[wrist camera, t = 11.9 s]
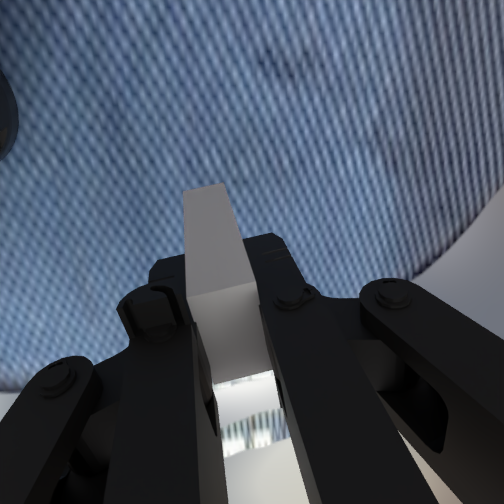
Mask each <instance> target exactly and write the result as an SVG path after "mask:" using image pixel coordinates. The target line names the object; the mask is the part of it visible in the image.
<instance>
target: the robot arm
mask: <svg viewBox="0 0 504 504" xmlns="http://www.w3.org/2000/svg"><path fill="white" fill-rule="evenodd" d="M17 131H18V110H17V105H16V101H15V98H14V95H13V92H12V90H11V87H10V85H9V83H8V81H7V79H6V78H5V76H4V74H3V73H2V71H1V70H0V161H1V160H2V159H3V158H4V157H5V156H6V155H7V154H8V152H9V151H10V150H11V148H12V146H13V144H14V142H15V139H16V136H17ZM183 205H184V238H185V254H182V255H178V256H173V257H169V258H165V259H160V260H157V262H156V263H155V264H154V266H153V267H152V268H151V269H150V271H149V279H148V284H146V285H144V286H141V287H138V288H137V289H135V290H133V291H131V292H130V293H128V294H127V295H126V296H125V297H124V298H123V299H122V300H121V301H120V302H119V304H118V306H117V308H116V310H117V312H118V314H119V316H120V319H121V321H122V323H123V325H124V327H125V330H126V332H127V334H128V336H129V339H130V341H129V346H128V347H127V348H126V349H124V350H123V351H122V352H120V353H118V354H116V355H115V356H113V357H111V358H109V359H106V360H104V361H102V362H100V363H98V364H96V365H94V366H93V364H92V362H91V361H90V360H89V359H87V358H86V357H84V356H70V357H65V358H61V359H59V360H57V361H55V362H53V363H51V364H49V365H47V366H46V367H44V368H43V369H42V370H40V371H39V372H38V373H36V374H35V376H34V377H33V378H32V379H31V380H30V381H29V382H28V383H27V385H26V386H25V387H24V389H23V390H22V392H21V393H20V395H19V396H18V397H17V399H16V400H15V402H14V403H13V405H12V406H11V407H10V409H9V410H8V412H7V413H6V415H5V416H4V417H3V419H2V420H1V422H0V504H228V495H227V486H226V477H225V468H224V459H223V450H222V441H221V432H220V423H219V414H218V406H217V401H216V398H215V395H214V392H213V388H212V379H213V382H214V385H215V384H218V383H222V382H226V381H230V380H234V379H238V378H242V377H246V376H250V375H254V374H258V373H261V372H265V371H269V370H273V371H274V376H275V381H276V386H277V391H278V396H279V401H280V407H281V408H283V411H284V415H285V418H286V422H287V425H288V429H289V432H290V436H291V440H292V443H293V446H294V450H295V454H296V457H297V461H298V464H299V468H300V471H301V475H302V478H303V482H304V485H305V489H306V492H307V496H308V499H309V503H310V504H439V503H438V501H437V499H436V498H435V496H434V494H433V492H432V491H431V489H430V487H429V485H428V483H427V482H426V480H425V478H424V476H423V475H422V473H421V471H420V469H419V467H418V466H417V464H416V462H415V460H414V458H413V457H412V455H411V453H410V451H409V450H408V448H407V446H406V444H405V443H404V441H403V439H402V437H401V435H400V434H399V432H400V433H401V434H402V435H403V437H404V438H405V439H406V440H407V441H408V442H409V443H410V444H411V446H412V447H413V448H414V449H415V450H416V451H417V452H418V453H419V455H420V456H421V457H422V458H423V459H424V460H425V461H426V462H427V464H428V465H429V466H430V467H431V468H432V469H433V470H434V472H435V473H436V474H437V475H438V476H439V477H440V478H441V479H442V481H443V482H444V483H445V484H446V485H447V486H448V487H449V488H450V490H452V492H453V493H454V494H455V495H456V496H457V497H458V499H459V500H460V501H461V502H462V503H463V504H504V340H503V339H501V338H500V337H498V336H497V335H495V334H494V333H492V332H490V331H489V330H487V329H486V328H484V327H482V326H481V325H479V324H478V323H476V322H475V321H473V320H472V319H470V318H469V317H467V316H465V315H464V314H462V313H461V312H459V311H458V310H456V309H454V308H453V307H451V306H450V305H448V304H446V303H445V302H443V301H442V300H440V299H439V298H437V297H436V296H434V295H432V294H431V293H429V292H428V291H426V290H425V289H423V288H422V287H420V286H418V285H416V284H414V283H412V282H410V281H408V280H403V279H398V278H382V279H378V280H374V281H371V282H370V283H368V284H366V285H365V286H363V288H362V290H361V291H360V293H359V298H330V297H326V296H322V295H321V294H320V292H319V291H318V290H317V289H316V288H315V287H314V286H312V285H309V284H307V283H306V282H305V280H304V278H303V276H302V274H301V272H300V270H299V269H298V267H297V265H296V263H295V261H294V259H293V257H292V256H291V254H290V252H289V250H288V249H287V246H286V244H285V242H284V241H283V239H282V238H280V237H279V236H277V235H275V234H273V233H268V234H263V235H259V236H255V237H250V238H246V239H242V238H241V235H240V232H239V228H238V225H237V222H236V219H235V216H234V213H233V210H232V207H231V204H230V201H229V198H228V195H227V192H226V189H225V186H224V183H219V184H214V185H210V186H205V187H201V188H196V189H192V190H187V191H183ZM211 376H212V378H211ZM398 431H399V432H398Z"/></svg>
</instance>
